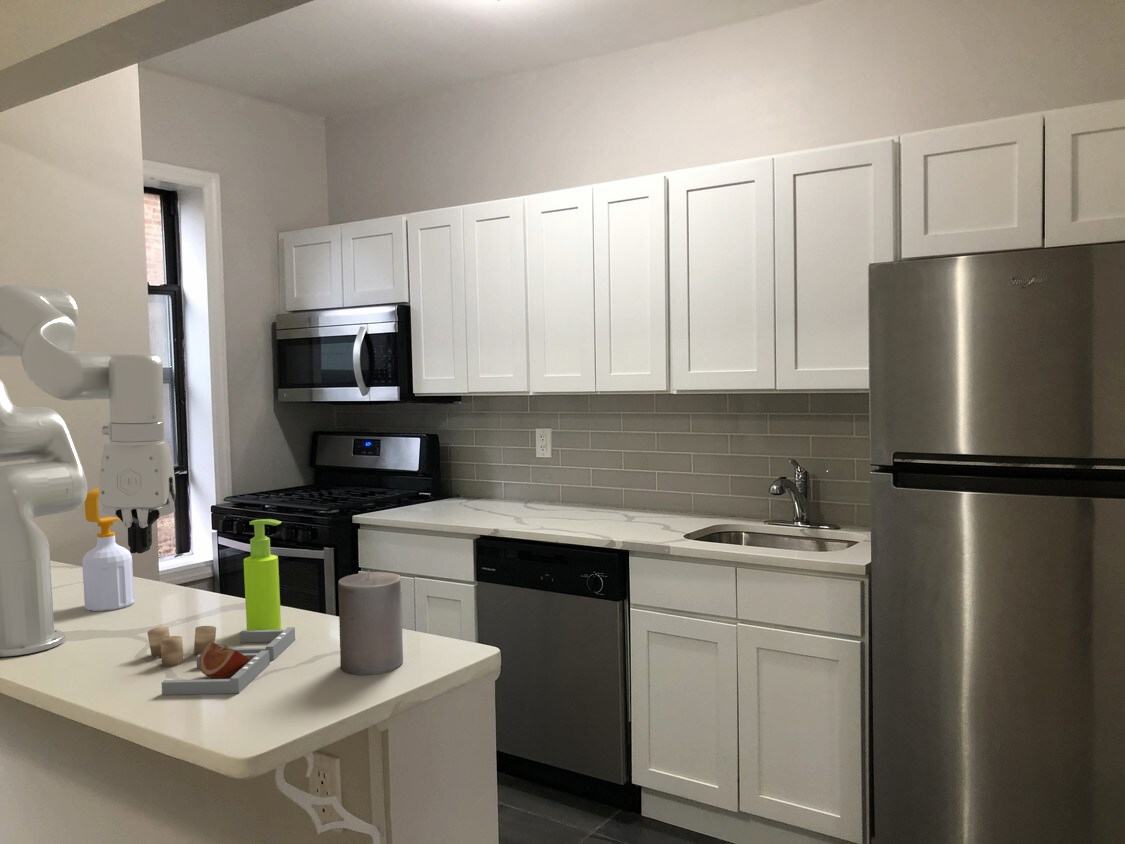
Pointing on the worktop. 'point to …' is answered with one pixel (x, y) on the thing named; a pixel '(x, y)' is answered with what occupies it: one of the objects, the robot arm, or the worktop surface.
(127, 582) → the soap bottle
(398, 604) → the pillar candle
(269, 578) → the soap dispenser
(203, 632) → the cork
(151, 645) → the cork
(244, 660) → the fruit slice
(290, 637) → the corral
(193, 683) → the corral
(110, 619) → the worktop surface
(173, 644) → the cork
